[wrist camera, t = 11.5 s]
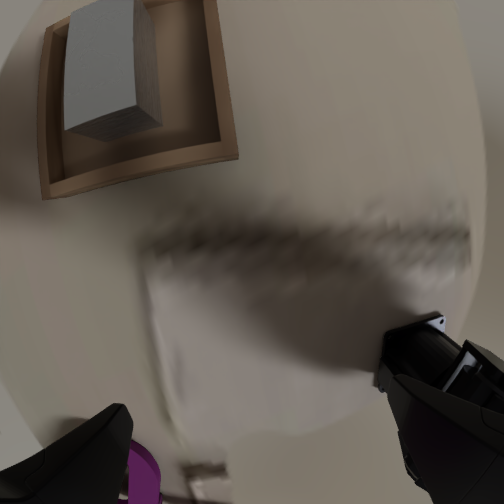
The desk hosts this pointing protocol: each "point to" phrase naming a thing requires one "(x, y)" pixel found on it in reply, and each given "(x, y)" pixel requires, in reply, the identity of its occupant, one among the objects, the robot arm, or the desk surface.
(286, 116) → the desk surface
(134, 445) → the mounting bracket
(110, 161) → the walnut tray
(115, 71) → the aluminium block
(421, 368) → the robot arm
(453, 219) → the desk surface
